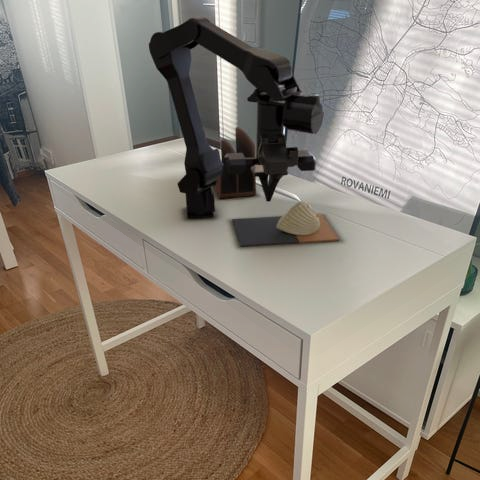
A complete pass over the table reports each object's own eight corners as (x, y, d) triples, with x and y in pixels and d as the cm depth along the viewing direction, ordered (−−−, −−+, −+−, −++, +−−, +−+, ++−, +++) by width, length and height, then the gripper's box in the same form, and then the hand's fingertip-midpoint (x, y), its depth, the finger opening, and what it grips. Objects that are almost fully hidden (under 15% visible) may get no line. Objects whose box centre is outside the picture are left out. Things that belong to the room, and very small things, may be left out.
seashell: (330, 225, 108) (306, 214, 103) (304, 249, 113) (280, 239, 108) (318, 199, 112) (294, 188, 107) (294, 223, 117) (270, 213, 112)
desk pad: (240, 246, 105) (240, 245, 105) (232, 220, 116) (232, 219, 116) (338, 240, 108) (339, 238, 107) (321, 215, 119) (321, 214, 119)
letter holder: (238, 172, 145) (238, 122, 137) (256, 195, 130) (257, 141, 122) (206, 175, 143) (203, 124, 135) (219, 199, 128) (218, 144, 120)
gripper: (229, 139, 91) (230, 217, 100) (326, 135, 93) (319, 212, 102) (223, 124, 100) (224, 198, 109) (311, 121, 102) (305, 193, 111)
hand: (268, 201), depth 107 cm, fingers closed
